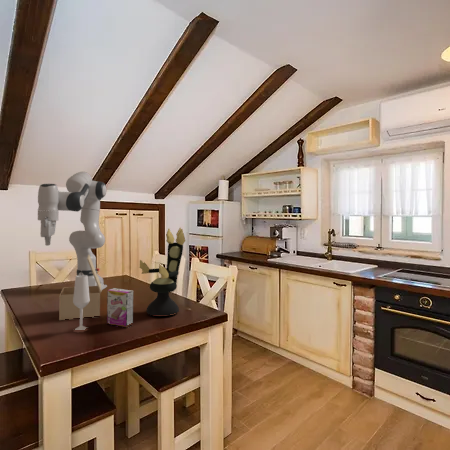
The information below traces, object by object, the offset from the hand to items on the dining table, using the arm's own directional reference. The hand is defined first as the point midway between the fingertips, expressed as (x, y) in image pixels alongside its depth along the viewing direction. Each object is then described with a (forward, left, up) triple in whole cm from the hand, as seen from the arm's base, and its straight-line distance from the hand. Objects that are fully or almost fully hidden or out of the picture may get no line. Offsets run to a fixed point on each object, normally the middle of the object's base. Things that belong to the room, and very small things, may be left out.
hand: (47, 245), depth 156 cm
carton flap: (-11, +18, -15) cm, 25 cm away
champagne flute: (+12, +27, -35) cm, 46 cm away
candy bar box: (+2, +40, -35) cm, 53 cm away
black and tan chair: (-22, +53, -35) cm, 67 cm away
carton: (-8, +13, -35) cm, 38 cm away
